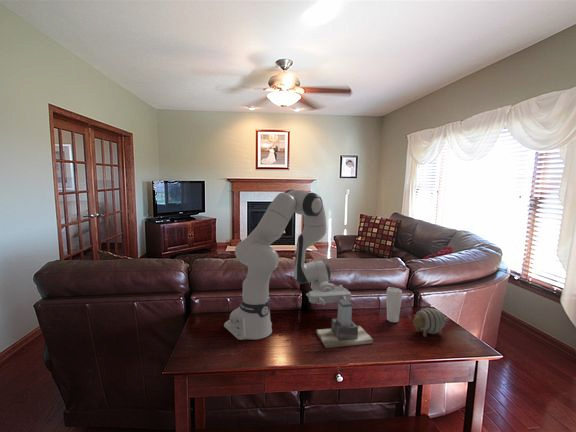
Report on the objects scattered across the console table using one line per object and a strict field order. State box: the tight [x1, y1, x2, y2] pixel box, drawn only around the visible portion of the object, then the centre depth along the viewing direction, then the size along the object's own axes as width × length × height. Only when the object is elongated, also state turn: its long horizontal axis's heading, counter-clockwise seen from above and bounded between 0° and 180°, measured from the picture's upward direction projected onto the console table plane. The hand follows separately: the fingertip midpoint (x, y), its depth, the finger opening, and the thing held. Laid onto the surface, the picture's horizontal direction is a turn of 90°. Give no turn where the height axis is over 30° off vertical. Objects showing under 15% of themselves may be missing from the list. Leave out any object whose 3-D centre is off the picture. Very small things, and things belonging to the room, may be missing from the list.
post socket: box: [316, 317, 374, 349], centre depth 122 cm, size 12×20×6 cm, turn 102°
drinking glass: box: [385, 287, 403, 323], centre depth 138 cm, size 7×7×15 cm
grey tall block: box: [337, 300, 353, 327], centre depth 122 cm, size 5×4×14 cm
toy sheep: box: [412, 307, 450, 338], centre depth 127 cm, size 11×17×11 cm, turn 107°
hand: (335, 302), depth 132 cm, fingers open, 8 cm apart
